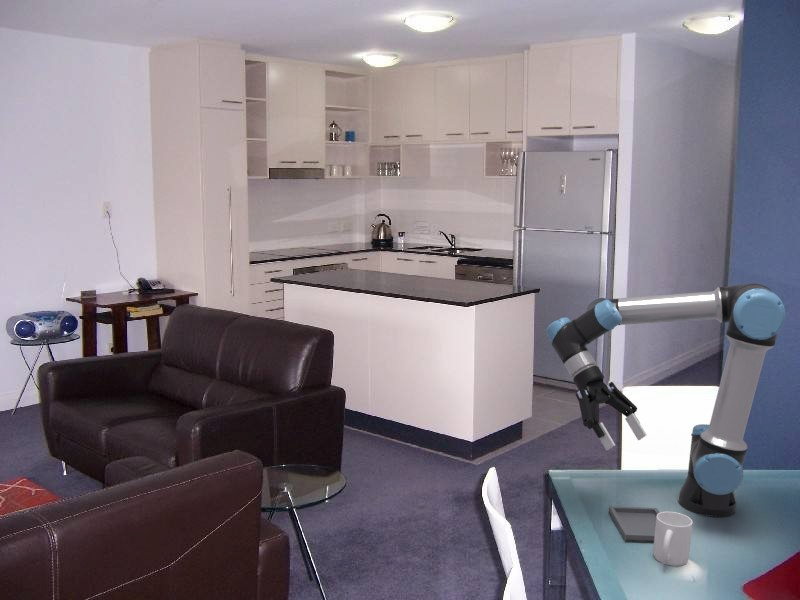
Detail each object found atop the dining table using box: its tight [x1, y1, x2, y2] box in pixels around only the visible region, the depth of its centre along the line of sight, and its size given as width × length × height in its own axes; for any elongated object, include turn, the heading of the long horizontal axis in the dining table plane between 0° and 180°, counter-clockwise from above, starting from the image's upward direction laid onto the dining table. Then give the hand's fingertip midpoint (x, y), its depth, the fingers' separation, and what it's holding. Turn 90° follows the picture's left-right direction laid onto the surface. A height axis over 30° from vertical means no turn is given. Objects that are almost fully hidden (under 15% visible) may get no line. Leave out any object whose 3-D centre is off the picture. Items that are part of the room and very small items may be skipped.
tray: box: [608, 505, 661, 544], centre depth 213 cm, size 13×17×2 cm
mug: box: [652, 511, 694, 567], centre depth 195 cm, size 12×8×10 cm
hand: (627, 442), depth 207 cm, fingers open, 13 cm apart
